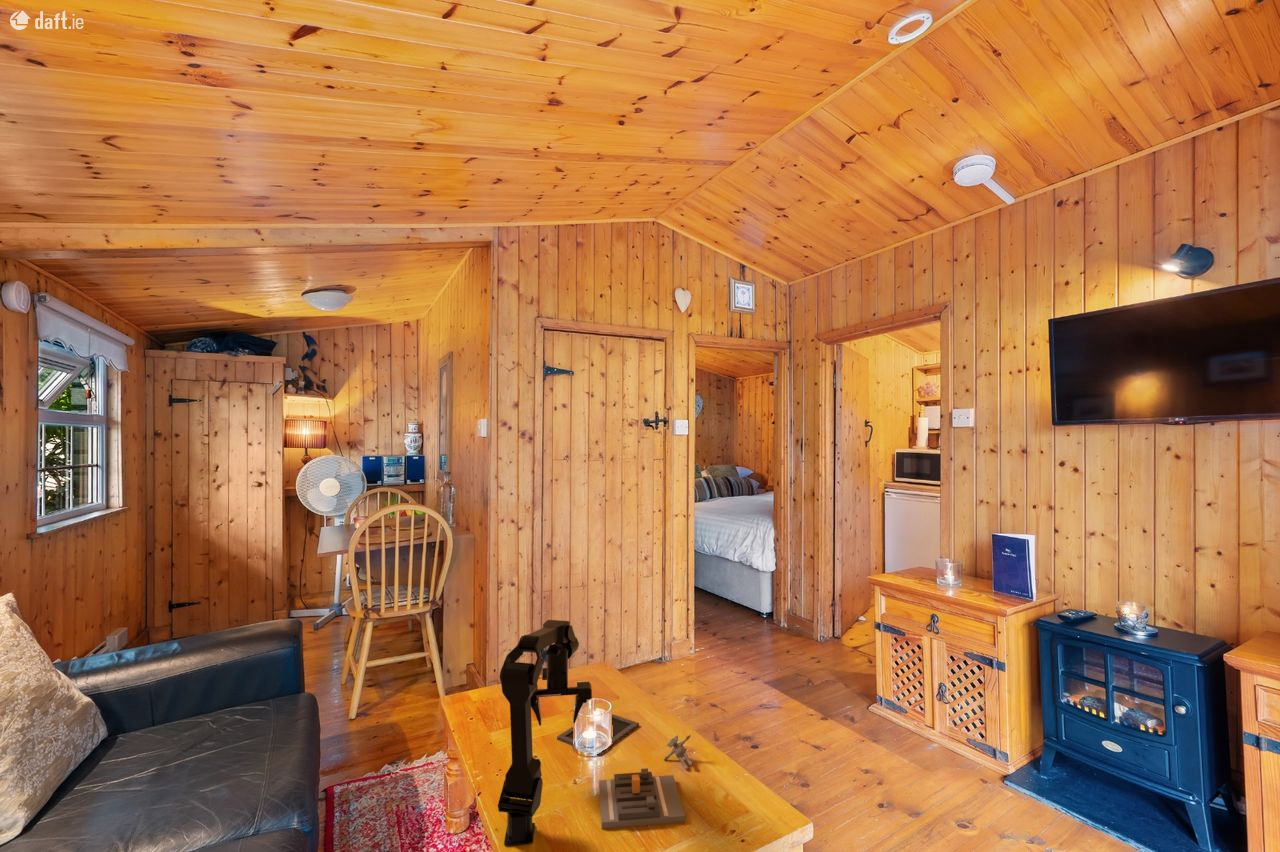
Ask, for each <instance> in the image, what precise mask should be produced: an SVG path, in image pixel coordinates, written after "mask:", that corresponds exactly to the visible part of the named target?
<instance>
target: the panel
mask: <svg viewBox="0 0 1280 852" xmlns="http://www.w3.org/2000/svg"><path fill="white" fill-rule="evenodd" d="M652 772H653V771H649V768H648V767H645V768H641V769H640V772H628V773H627V772H626V773H614V774H613V778H610V779H599V780H598V791H599V809H600V821H601V822H600V823H601V824H600V825H601V830H604V829H605V830H606V829H618V828H630V827H631V828H632V827H643V826H644V827H645V826H654V825H655V826H656V825H667V824H679V823H680V824H681V823H686V815H685V811H684V808H683V803H682V801H681V797H680V793H679V789H678V786H677V783H676V779H675V776H674V774H669V775H668V774H667V775H655V776H653V774H652ZM638 774H639V778H640V793H633V792H632V775H638Z"/></svg>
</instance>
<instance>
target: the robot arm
mask: <svg viewBox="0 0 1280 852" xmlns="http://www.w3.org/2000/svg"><path fill="white" fill-rule="evenodd" d="M579 646H580V641H579V640H578V637H577V636H576V634H575V632H574V628H573V626H572V625H571V622H570V621H569V620H558V619H547V620H546V621H545V622H543V623H542V628H540V629H537V630H535V631H533V632H530V633H528V634H524V635H521V636H520V638H519V640H518V643H517V645H516V646H515V647H514V648H513V649H512V650H511V651H510V652H508V654H506V657H505V659H504V662H503V664H502V667H501V669H500V671H499V681H500V685H501V692H502V694H503V696H504V697H505V699H506V700H507V702H508V704H509V716H510V717H509V718H510V719H509V720H510V722H509V724H510V740H511V742H510V744H511V747H510V748H511V764H510V766H509V768H508V770H507V772H506V773H505V776H504V777H505V778H504V780H503V785H502V789H501V793H500V796H499V798H498V802H497V803H498V804H497V809H498V812H499V813H506V814H507V815H506V816H507V817H506V819H507V821H506V822H507V823H506V831H505V836H504V841H503V844H504V846H515V845H516V846H517V845H528V844H532V843H534V839H535V828H536V823H535V822H533V817H534V816H535V814H536V812H537V811H538V809H539V807H540V806H541V803H542V802H541V799H542V791H543V784H544V783H543V778H542V775H543V774H542V762H541V760H540V758H534V755H533V731H532V730H533V729H532V728H533V727H532V725H533V724H532V723H533V722H532V711H533V712H534V715H535V717H536V718H535V719H536V720H537V722H538V724H539V727H541V726H542V711H541V706H540V698H547V697H563V696H574V695H575V697H574V698H575V699H574V707H573V721H572V723H573V724H575V723H576V721H577V720H578V716H579V713H580V710H581V709H582V707H583V704H586V703H587V702H588V701H589V700H592V698H593V697H592V695H593V689H592V683H591V682H590V681H579V682H576V686H571V687H568V686H569V679H568V678H569V674H568V673H569V667H568V665H569V663H568V662H569V661H568V660H569V659H571V658H572V656H573V655H574V654H575V653H576V652H577V651H578V649H579ZM547 647H548V648H547ZM545 648H547V649H545ZM543 649H545V650H546V651H545V655H546V667H544V668H543V662H542V658H541V652H542V650H543ZM524 653H534V654H535V655H536V660H535V663H531V662H517V660H519V659H520V658H521V657H522V656H523V654H524ZM541 672H542V673H541ZM540 675H541V679H542V681H546V688H542V689H539V688H538V687H539V686H538V682H539V679H540Z"/></svg>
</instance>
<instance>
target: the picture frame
mask: <svg viewBox="0 0 1280 852" xmlns="http://www.w3.org/2000/svg"><path fill="white" fill-rule="evenodd" d="M611 714H612V713H611ZM612 725H613V737H612V743H613V745H615V744H616V743H618V742H619V741H620V740H622V739H623V738H625V737H626V736H627V735H629V734H630V733H632V732H633V731H634V730H636V729H637V728H639V727H640V723H639V722H637V721H634V720H630V719H627V718H625V717H622V716H618V715H615V714H614V713H613V714H612ZM638 726H639V727H638ZM635 728H636V729H635ZM632 730H633V731H632ZM631 731H632V732H631ZM629 732H630V733H629ZM628 733H629V734H628ZM626 734H627V735H626ZM625 735H626V736H625ZM624 736H625V737H624ZM621 738H622V739H621ZM556 740H557V741H560V742H562V743H564V744H567V745H570V746H572V747H574V746H573V726H572V727H570V728H569V729H567V730H565V731H564V732H562V733H561V734H559V735H557V736H556ZM618 740H619V741H618ZM617 741H618V742H617ZM615 742H616V743H615ZM614 743H615V744H614Z"/></svg>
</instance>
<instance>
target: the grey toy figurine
mask: <svg viewBox="0 0 1280 852" xmlns="http://www.w3.org/2000/svg"><path fill="white" fill-rule="evenodd" d="M690 738H691V735H690V734H688V735H687V736H686V738H685V739H683V740H682V741H680V742H679V735H676V736H674V737H673V738H671V739H670V741H669V742H668V743H667V744H666V746H667V747H669V748H672V749H671V751H670V752H669V753H668V755H666V756H664V758H663V760H664V761H666V760H668V759H669V758H670V757H671V756H672V755H674V754H675V756H676V758H677V759H679V761H680V762H681V764H682V766H683V768H684V769H685V770H686V771H687V770H689V766H693V763H694V762H693V761H692V760H691V758H690V757H689V756H688V754H687V750H686V749H685V747H683V746H684V744H685V743H686V742H687V741H688V740H690ZM685 760H686V761H685ZM686 762H687V763H688V764H687V763H686Z"/></svg>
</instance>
